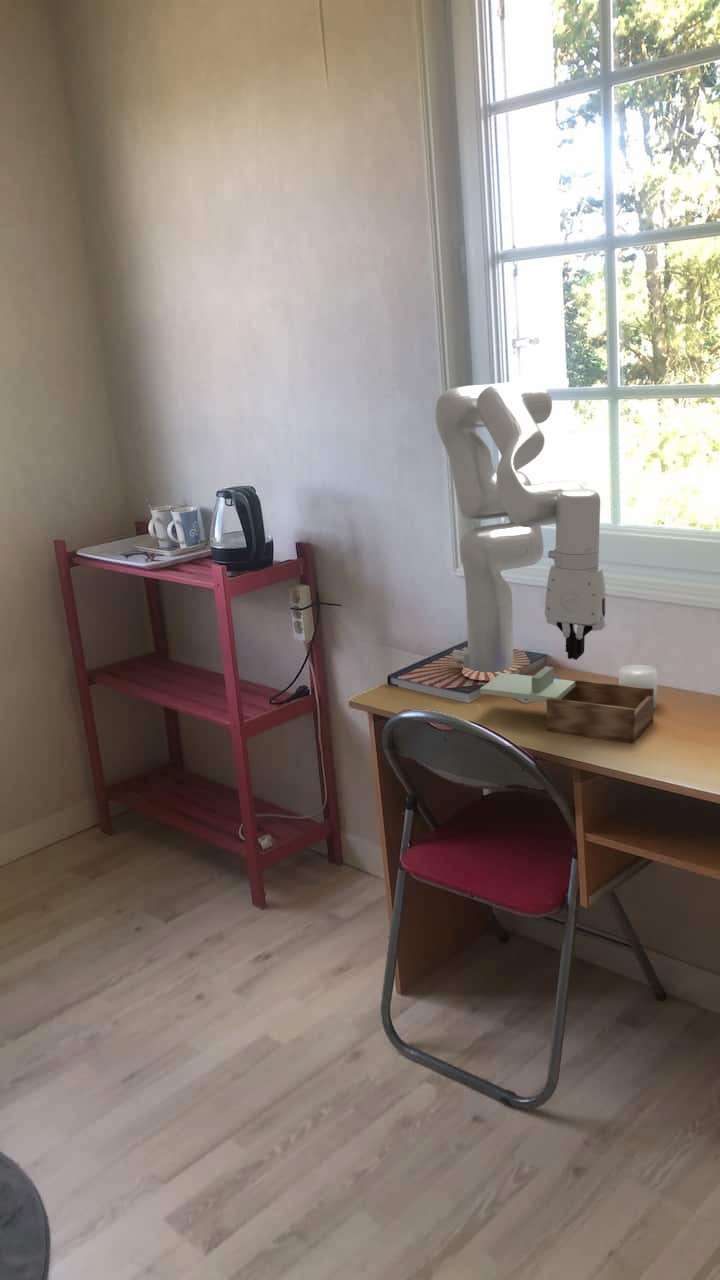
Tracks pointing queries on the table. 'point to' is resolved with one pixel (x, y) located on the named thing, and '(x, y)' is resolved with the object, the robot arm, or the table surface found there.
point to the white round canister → (639, 677)
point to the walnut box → (602, 711)
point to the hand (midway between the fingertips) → (574, 656)
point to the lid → (529, 686)
